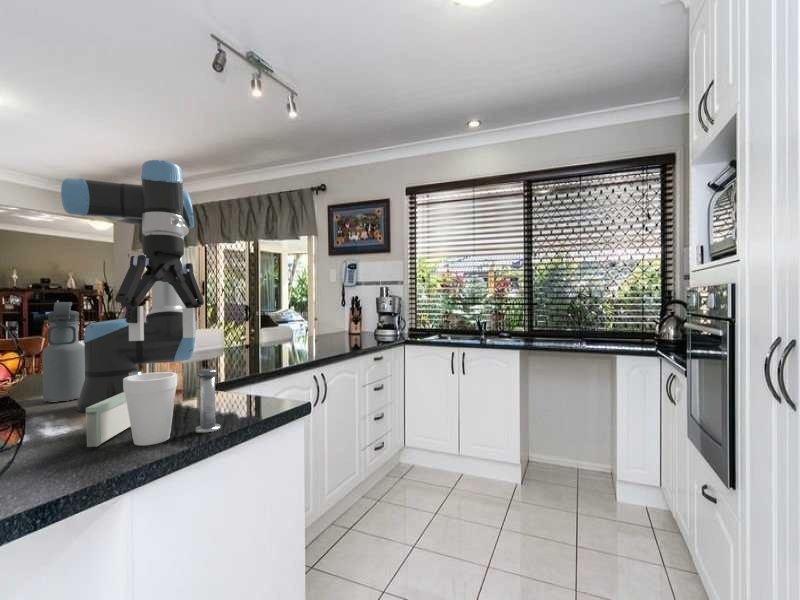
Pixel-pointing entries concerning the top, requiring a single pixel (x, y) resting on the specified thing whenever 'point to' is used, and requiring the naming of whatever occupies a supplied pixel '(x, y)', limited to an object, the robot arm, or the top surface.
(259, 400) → the top surface
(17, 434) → the top surface
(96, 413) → the gate
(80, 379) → the water bottle
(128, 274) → the robot arm
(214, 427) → the post
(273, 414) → the top surface
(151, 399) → the foam cup
